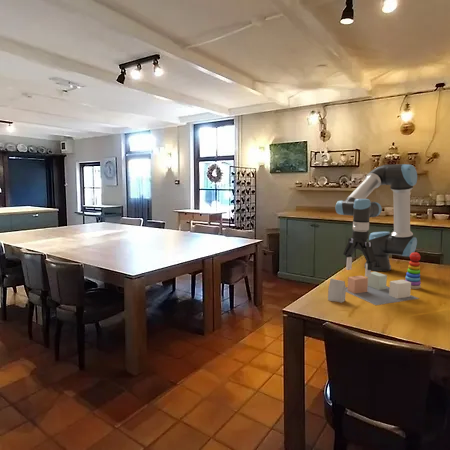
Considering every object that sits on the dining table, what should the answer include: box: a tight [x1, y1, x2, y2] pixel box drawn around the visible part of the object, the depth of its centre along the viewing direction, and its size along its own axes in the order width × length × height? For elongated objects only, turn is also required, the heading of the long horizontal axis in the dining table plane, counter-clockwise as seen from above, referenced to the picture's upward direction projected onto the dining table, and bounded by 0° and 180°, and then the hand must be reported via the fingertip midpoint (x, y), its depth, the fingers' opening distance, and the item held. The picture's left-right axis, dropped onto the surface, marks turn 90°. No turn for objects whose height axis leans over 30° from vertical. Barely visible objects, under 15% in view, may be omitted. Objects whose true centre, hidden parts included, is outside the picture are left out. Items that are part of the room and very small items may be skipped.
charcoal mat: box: [345, 285, 420, 306], centre depth 179 cm, size 26×26×1 cm
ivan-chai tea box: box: [327, 278, 347, 304], centre depth 169 cm, size 4×7×10 cm, turn 49°
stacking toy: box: [404, 251, 422, 290], centre depth 189 cm, size 8×8×19 cm
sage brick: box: [367, 271, 388, 290], centre depth 188 cm, size 8×5×7 cm, turn 21°
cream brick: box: [389, 279, 412, 299], centre depth 175 cm, size 8×5×7 cm, turn 111°
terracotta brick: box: [347, 275, 368, 294], centre depth 182 cm, size 8×5×7 cm, turn 111°
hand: (357, 272), depth 181 cm, fingers open, 13 cm apart
